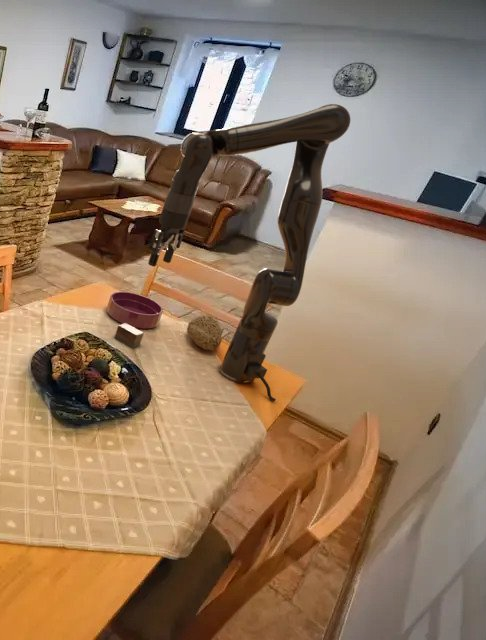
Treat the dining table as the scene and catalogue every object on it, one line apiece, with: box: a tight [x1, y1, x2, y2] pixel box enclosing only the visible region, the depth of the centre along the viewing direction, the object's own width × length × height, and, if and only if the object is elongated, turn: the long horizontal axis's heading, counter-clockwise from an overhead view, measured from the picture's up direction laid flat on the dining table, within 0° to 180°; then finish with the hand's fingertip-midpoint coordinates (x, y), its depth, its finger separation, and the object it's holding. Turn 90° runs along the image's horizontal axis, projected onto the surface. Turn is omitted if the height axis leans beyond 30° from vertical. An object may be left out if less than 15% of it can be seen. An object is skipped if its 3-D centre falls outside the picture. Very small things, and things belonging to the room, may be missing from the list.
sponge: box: [186, 314, 225, 351], centre depth 166 cm, size 13×8×20 cm
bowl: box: [106, 291, 164, 329], centre depth 173 cm, size 18×18×6 cm
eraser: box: [114, 323, 144, 349], centre depth 155 cm, size 7×4×4 cm, turn 44°
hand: (159, 263), depth 147 cm, fingers open, 8 cm apart
